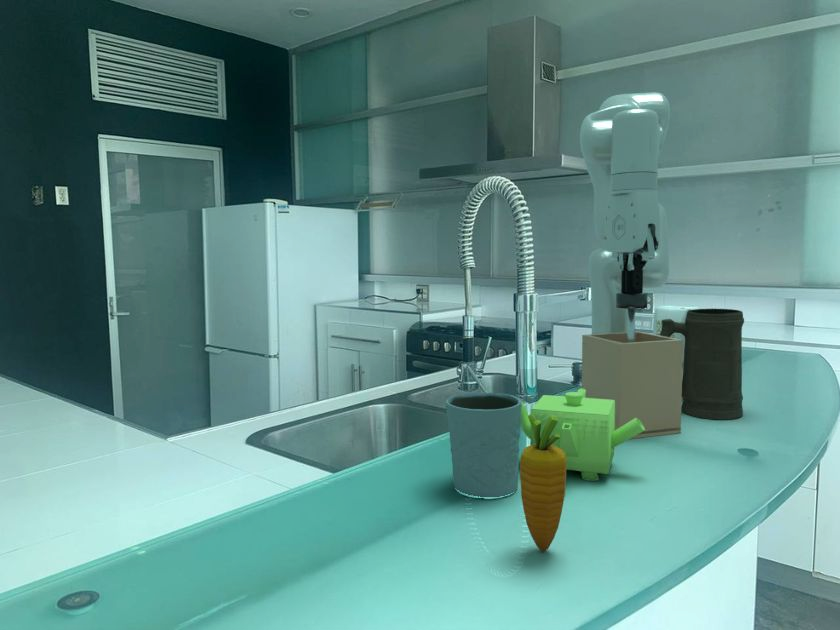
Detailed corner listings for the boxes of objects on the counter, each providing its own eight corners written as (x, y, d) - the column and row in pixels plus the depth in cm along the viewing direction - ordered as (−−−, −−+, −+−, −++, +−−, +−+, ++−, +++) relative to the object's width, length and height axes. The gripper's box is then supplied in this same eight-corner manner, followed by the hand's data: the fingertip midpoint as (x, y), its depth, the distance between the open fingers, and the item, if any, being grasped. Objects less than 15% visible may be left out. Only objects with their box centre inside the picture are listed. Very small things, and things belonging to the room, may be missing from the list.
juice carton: (663, 389, 142) (665, 304, 140) (703, 395, 136) (705, 306, 134) (647, 395, 136) (649, 306, 134) (688, 401, 130) (690, 309, 128)
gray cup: (504, 507, 79) (504, 413, 78) (433, 493, 84) (431, 404, 83) (532, 480, 88) (532, 395, 87) (465, 469, 93) (465, 388, 92)
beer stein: (734, 405, 127) (730, 305, 125) (757, 420, 116) (753, 310, 114) (654, 410, 128) (649, 311, 126) (669, 424, 118) (664, 317, 116)
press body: (574, 418, 120) (575, 333, 118) (630, 412, 123) (631, 329, 121) (619, 439, 106) (621, 344, 104) (680, 432, 109) (683, 340, 108)
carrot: (514, 541, 70) (514, 408, 69) (558, 539, 71) (559, 406, 69) (525, 564, 65) (525, 420, 64) (573, 561, 66) (574, 418, 64)
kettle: (502, 461, 97) (502, 388, 95) (577, 447, 103) (578, 378, 101) (565, 495, 83) (566, 410, 82) (647, 477, 89) (649, 398, 88)
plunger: (592, 377, 116) (593, 292, 114) (636, 374, 118) (638, 290, 116) (622, 388, 107) (624, 296, 105) (669, 384, 109) (671, 294, 108)
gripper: (590, 189, 115) (589, 291, 117) (641, 180, 101) (639, 297, 102) (626, 190, 117) (625, 290, 119) (682, 181, 103) (679, 295, 105)
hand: (631, 293), depth 111 cm, fingers closed
